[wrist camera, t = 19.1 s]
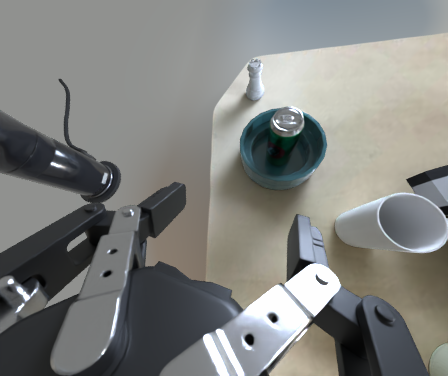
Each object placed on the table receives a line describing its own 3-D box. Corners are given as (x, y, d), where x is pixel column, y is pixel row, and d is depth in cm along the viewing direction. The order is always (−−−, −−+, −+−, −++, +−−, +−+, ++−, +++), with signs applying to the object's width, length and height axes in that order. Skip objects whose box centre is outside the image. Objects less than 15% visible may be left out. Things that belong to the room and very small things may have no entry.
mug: (335, 247, 30) (383, 251, 19) (330, 209, 32) (371, 192, 21) (401, 250, 28) (499, 256, 17) (391, 210, 30) (473, 192, 19)
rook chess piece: (244, 90, 44) (242, 59, 36) (261, 84, 44) (262, 52, 36) (248, 103, 42) (247, 73, 35) (266, 97, 42) (269, 66, 35)
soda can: (291, 167, 35) (308, 132, 24) (265, 167, 36) (271, 134, 25) (289, 145, 37) (304, 102, 25) (265, 146, 38) (269, 106, 26)
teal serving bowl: (228, 166, 38) (224, 153, 33) (267, 117, 40) (268, 97, 35) (289, 205, 34) (296, 197, 28) (329, 147, 36) (343, 129, 30)
